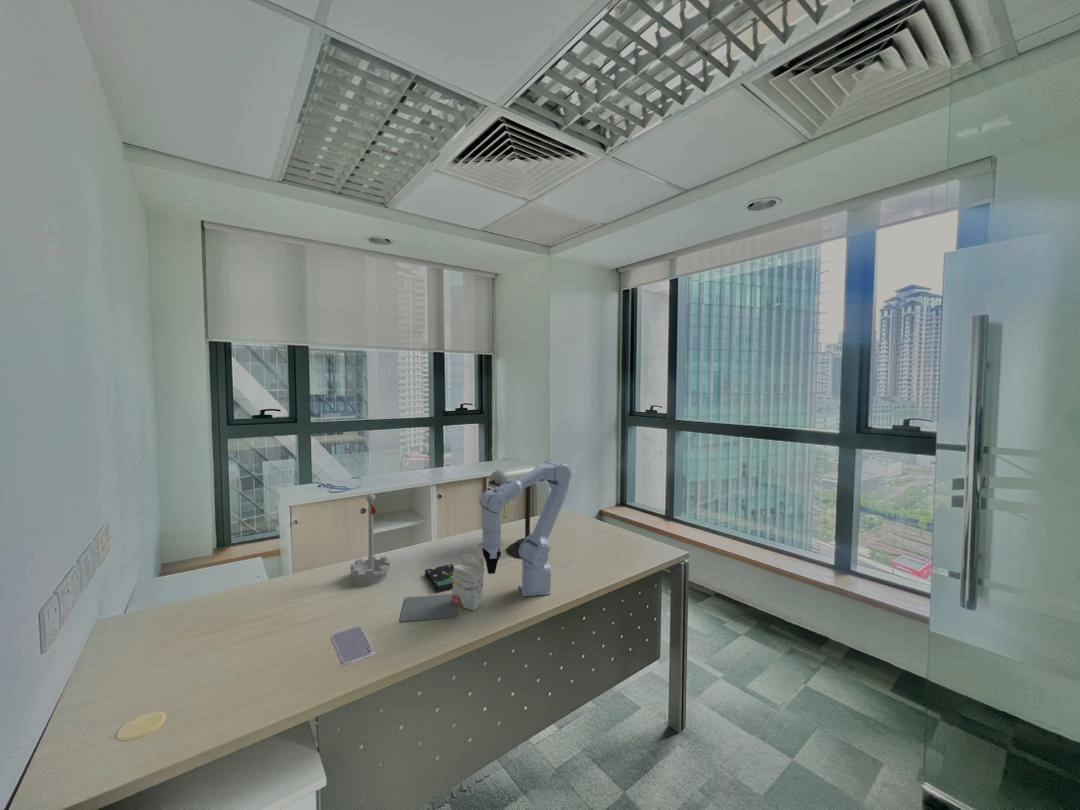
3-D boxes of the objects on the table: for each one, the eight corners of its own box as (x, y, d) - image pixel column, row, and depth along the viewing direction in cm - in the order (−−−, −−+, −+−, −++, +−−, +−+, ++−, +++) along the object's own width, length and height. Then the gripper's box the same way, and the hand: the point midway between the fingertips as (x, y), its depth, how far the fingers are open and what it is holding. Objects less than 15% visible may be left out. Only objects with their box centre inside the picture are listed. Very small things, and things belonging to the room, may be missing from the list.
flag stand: (345, 576, 151) (345, 493, 150) (382, 566, 160) (382, 487, 158) (357, 590, 141) (357, 501, 140) (396, 579, 150) (396, 495, 149)
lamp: (527, 533, 198) (528, 461, 196) (564, 548, 180) (566, 469, 178) (479, 547, 180) (480, 468, 178) (516, 566, 162) (517, 478, 161)
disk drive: (424, 577, 153) (437, 594, 141) (424, 569, 153) (437, 585, 140) (451, 571, 159) (467, 586, 146) (451, 563, 159) (467, 578, 146)
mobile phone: (360, 624, 120) (375, 652, 108) (360, 628, 120) (375, 655, 108) (330, 634, 116) (343, 663, 104) (330, 637, 116) (343, 667, 104)
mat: (456, 594, 140) (456, 593, 140) (456, 617, 126) (456, 616, 126) (405, 598, 137) (405, 597, 136) (399, 622, 123) (399, 621, 123)
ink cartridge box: (450, 603, 133) (453, 557, 132) (460, 597, 137) (462, 552, 137) (473, 611, 129) (476, 563, 129) (482, 604, 134) (485, 558, 133)
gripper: (477, 522, 140) (477, 563, 141) (480, 538, 126) (479, 583, 126) (499, 521, 141) (498, 561, 142) (503, 537, 127) (503, 581, 128)
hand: (491, 572), depth 134 cm, fingers closed
